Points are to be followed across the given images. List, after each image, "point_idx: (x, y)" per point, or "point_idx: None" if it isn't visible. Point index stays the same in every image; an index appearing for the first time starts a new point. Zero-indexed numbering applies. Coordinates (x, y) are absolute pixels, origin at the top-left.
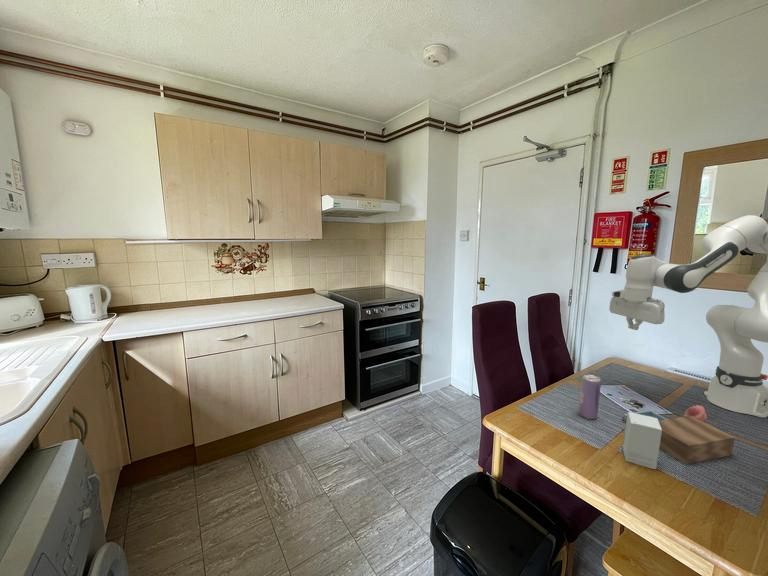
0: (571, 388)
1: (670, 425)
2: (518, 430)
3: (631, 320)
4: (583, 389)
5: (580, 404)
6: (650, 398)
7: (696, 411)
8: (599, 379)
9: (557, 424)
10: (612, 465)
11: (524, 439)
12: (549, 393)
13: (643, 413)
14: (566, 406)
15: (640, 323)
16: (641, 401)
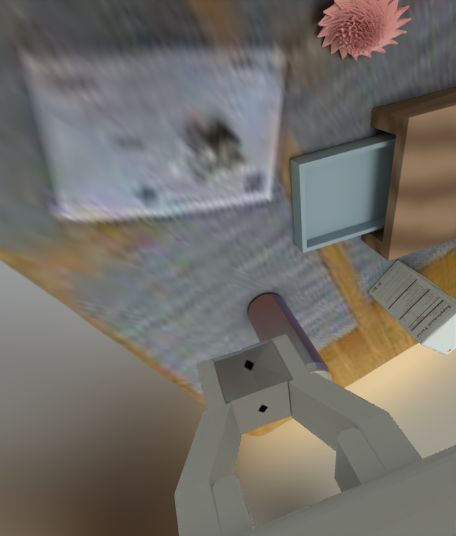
0: (113, 293)
1: (414, 218)
2: None
3: (218, 471)
4: None
5: None
6: (170, 35)
7: (382, 34)
8: (319, 371)
9: None
10: (390, 323)
11: None
12: (156, 352)
13: (303, 193)
14: (223, 333)
15: (359, 407)
16: (197, 104)
